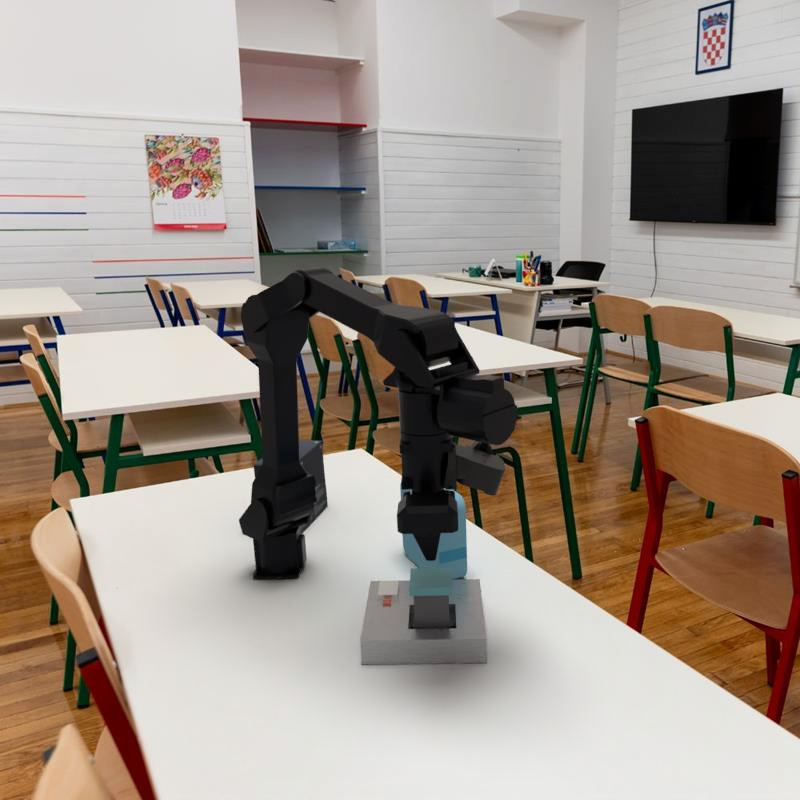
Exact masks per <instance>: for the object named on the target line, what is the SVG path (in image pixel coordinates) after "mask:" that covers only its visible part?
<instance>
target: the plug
mask: <svg viewBox="0 0 800 800" xmlns="http://www.w3.org/2000/svg"><path fill="white" fill-rule="evenodd" d="M409 573H410V575H409V580H410V586H409V590H410V596H413V597H414V620H415V627H414V629H450V628H451V627H450V619H449V595H452V574H451V568H418V567H416V568H410V572H409Z"/></svg>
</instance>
